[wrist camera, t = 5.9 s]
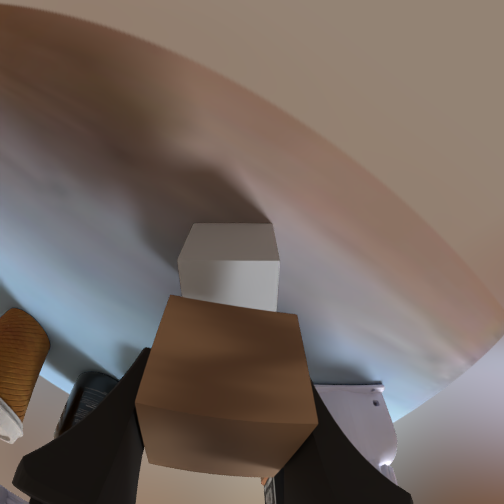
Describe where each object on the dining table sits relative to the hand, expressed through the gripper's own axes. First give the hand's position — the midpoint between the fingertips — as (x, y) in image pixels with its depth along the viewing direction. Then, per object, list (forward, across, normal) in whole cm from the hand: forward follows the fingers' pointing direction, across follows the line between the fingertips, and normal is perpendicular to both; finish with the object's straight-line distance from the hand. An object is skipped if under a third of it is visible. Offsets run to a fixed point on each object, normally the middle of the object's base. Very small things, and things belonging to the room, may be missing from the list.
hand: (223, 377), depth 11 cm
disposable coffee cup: (+10, +20, +13) cm, 26 cm away
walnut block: (+2, 0, 0) cm, 2 cm away
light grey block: (+10, 0, 0) cm, 10 cm away
